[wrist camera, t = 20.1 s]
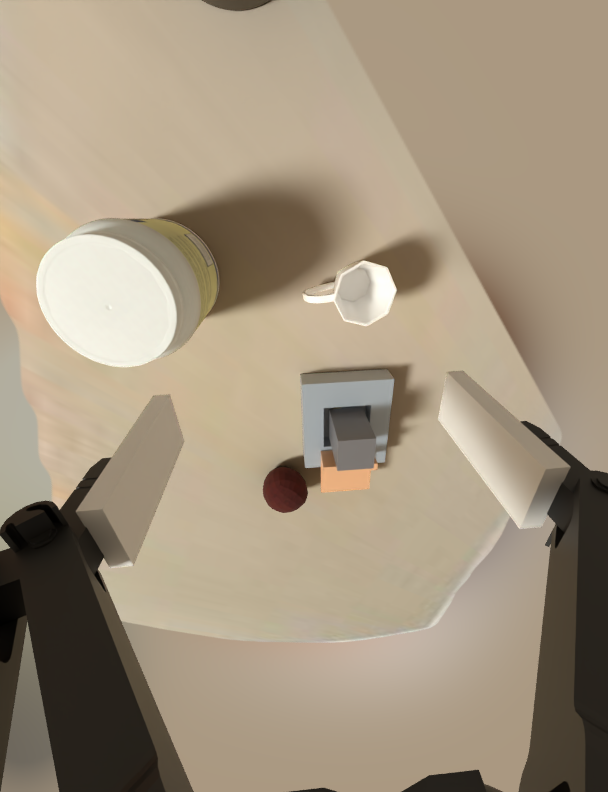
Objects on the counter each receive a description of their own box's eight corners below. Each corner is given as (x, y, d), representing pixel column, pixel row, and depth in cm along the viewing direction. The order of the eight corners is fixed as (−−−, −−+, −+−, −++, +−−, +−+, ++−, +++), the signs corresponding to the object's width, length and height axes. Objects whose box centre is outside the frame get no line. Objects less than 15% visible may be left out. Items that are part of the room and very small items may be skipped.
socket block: (300, 374, 48) (301, 384, 45) (386, 369, 48) (394, 379, 45) (303, 454, 55) (305, 468, 52) (378, 448, 55) (384, 462, 52)
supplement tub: (169, 194, 36) (94, 175, 21) (241, 285, 41) (222, 323, 26) (96, 263, 39) (-16, 289, 24) (172, 341, 44) (119, 402, 29)
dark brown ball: (283, 451, 54) (284, 481, 48) (314, 475, 57) (319, 506, 51) (253, 475, 56) (251, 507, 50) (285, 497, 59) (286, 529, 53)
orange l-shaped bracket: (320, 451, 50) (323, 467, 47) (371, 447, 51) (377, 463, 47) (320, 488, 54) (323, 506, 51) (367, 485, 54) (373, 502, 51)
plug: (328, 405, 49) (338, 441, 41) (360, 403, 50) (376, 438, 42) (327, 431, 52) (337, 470, 44) (358, 429, 52) (373, 468, 44)
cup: (377, 305, 44) (397, 321, 37) (304, 316, 44) (309, 335, 37) (376, 249, 40) (397, 255, 33) (297, 261, 40) (301, 270, 33)
